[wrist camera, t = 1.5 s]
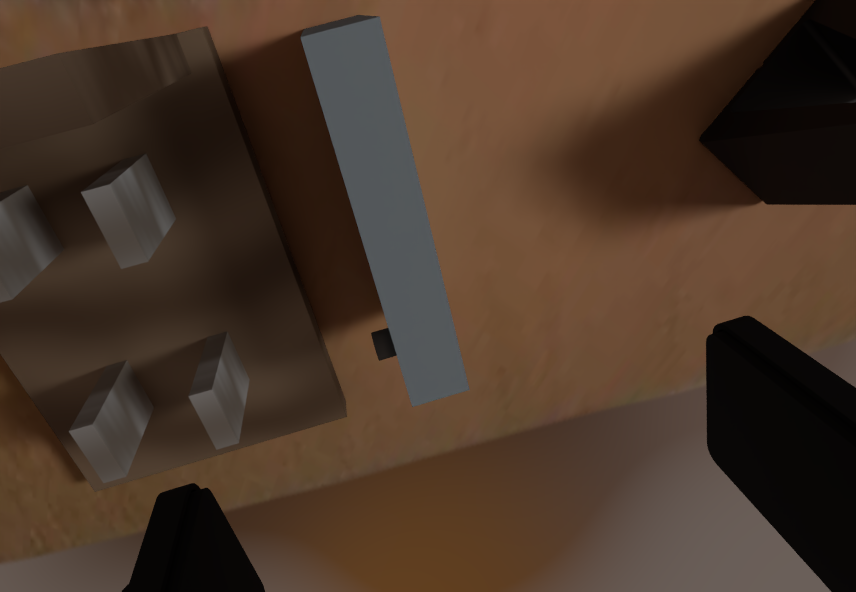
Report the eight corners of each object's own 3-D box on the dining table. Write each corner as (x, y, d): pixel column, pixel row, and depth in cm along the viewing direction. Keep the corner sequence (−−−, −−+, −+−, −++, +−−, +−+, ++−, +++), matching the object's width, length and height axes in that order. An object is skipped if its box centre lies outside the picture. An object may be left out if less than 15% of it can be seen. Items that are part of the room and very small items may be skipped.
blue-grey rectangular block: (285, 33, 25) (273, 44, 17) (358, 15, 25) (379, 16, 17) (372, 311, 32) (393, 412, 24) (429, 294, 32) (469, 389, 24)
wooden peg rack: (-134, 113, 24) (-594, 220, 12) (207, 26, 24) (105, 41, 12) (103, 472, 33) (-17, 736, 21) (345, 400, 34) (363, 616, 22)
